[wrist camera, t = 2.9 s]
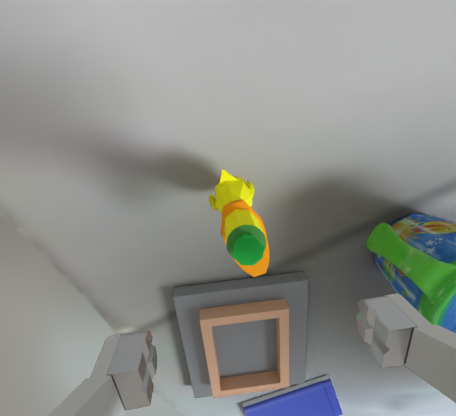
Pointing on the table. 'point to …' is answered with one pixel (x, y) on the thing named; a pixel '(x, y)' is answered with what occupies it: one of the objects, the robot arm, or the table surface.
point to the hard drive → (298, 401)
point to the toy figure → (241, 224)
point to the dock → (244, 333)
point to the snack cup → (420, 264)
